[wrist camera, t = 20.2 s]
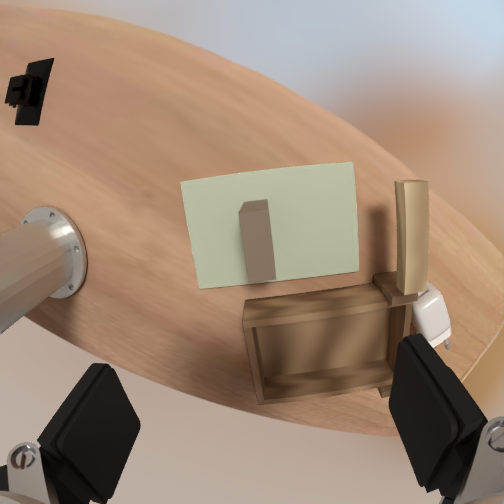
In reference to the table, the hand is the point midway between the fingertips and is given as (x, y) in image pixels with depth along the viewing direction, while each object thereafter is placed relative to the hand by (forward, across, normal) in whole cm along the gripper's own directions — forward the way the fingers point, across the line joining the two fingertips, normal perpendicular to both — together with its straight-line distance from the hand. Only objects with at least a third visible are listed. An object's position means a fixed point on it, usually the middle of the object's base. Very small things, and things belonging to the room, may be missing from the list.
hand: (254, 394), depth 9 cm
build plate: (+25, +28, -23) cm, 44 cm away
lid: (+25, -1, 0) cm, 25 cm away
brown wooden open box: (+24, -6, +14) cm, 29 cm away
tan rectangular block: (+18, -14, +1) cm, 23 cm away
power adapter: (+25, -19, +14) cm, 34 cm away
